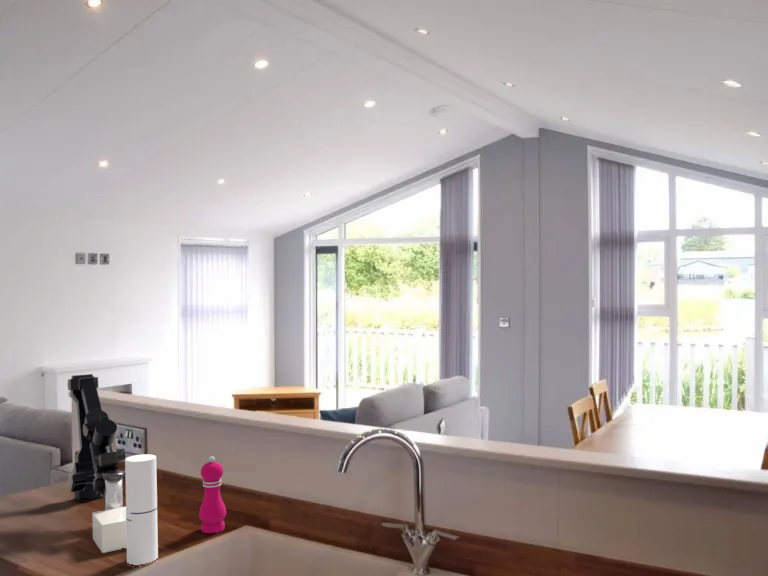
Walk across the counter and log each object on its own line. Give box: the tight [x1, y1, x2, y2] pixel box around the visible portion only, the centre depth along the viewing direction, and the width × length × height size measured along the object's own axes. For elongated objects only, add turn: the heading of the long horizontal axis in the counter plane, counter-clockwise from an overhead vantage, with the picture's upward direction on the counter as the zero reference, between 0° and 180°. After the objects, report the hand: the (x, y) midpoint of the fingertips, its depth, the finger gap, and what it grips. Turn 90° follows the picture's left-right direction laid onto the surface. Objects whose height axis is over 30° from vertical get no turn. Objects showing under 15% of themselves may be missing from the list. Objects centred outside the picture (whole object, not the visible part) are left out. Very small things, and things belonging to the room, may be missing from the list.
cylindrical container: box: [124, 453, 159, 565], centre depth 170 cm, size 7×7×25 cm
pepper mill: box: [198, 455, 227, 534], centre depth 191 cm, size 7×7×20 cm
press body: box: [91, 505, 127, 554], centre depth 184 cm, size 12×12×7 cm
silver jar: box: [103, 469, 125, 510], centre depth 187 cm, size 15×6×16 cm, turn 33°
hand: (112, 504), depth 193 cm, fingers closed, pressing on silver jar
